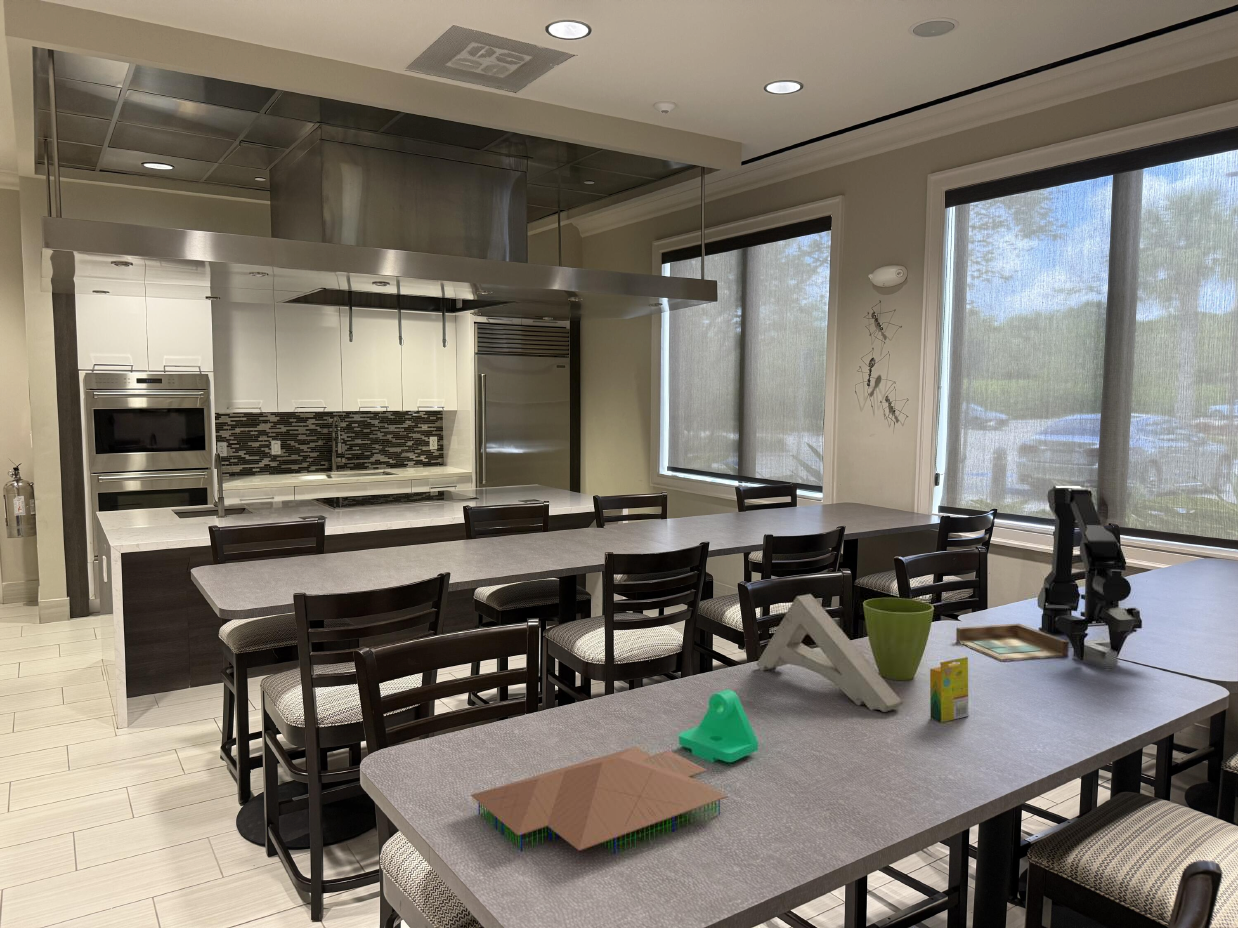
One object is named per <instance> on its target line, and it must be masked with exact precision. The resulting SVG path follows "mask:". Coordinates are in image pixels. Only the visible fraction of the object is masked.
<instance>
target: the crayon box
mask: <svg viewBox="0 0 1238 928" xmlns="http://www.w3.org/2000/svg"><path fill="white" fill-rule="evenodd" d="M968 658H969V657H967V656H965V657H961V658H955V659H951V660H945V661H941V662H939V663H940V664H939V665H940V666H939V667H934V668H933V667H932V668H930V669H929V670H930V671H929V672H930V673H929V675H930V676H929V677H930V678H929V680H930V681H929V682H930V683H929V685H930V686H929V687H930V689H929V691H930V692H929V693H930V697H929V698H930V701H929V703H930V706H929V708H930V709H929V710H930V711H929V713H930V715H929V716H930V717H929V718H930V719H931V720H933V721H937V722H939V723H943V724H944V722H949V721H953V720H956V719H960V718H966V717H967V718H968V717H969V662H968V661H969V659H968Z"/></svg>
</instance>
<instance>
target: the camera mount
mask: <svg viewBox="0 0 1238 928" xmlns="http://www.w3.org/2000/svg"><path fill="white" fill-rule="evenodd" d="M678 744H679V746H682V747H684V748H687V749H690V750H691V755H692V756H696V757H698V758H701V759H703V760H706V761H708V762H712V763H715V762H717V761H718V760H720V761H724V762H726V763H733V762H736V761H737V760H740V759H742V758H745V757H746V756H748V755H751V754H753V753H755V752H756V751H757V752H758V750H759V741H758V738H757V737H756V734H755V732H754V730H753V727H752V725H751V723H750V720H749V718H748V716H747V714H746V712H745V710H744V707H743V705H742V702H741V700H740V698H739V695H738V694H737V693H736V692H735V691H733V690H732V689H725V690H722V691H718V692H715V693H713V694H712V695H711V696H710V697H709V699H708V709H707V711H706V713H705V714H704V716H703V718H702V719H701V722H700V723H699V725H698V726H696V727H693V728H690V729H688V730H685V731H683V732H681V733H679V734H678Z"/></svg>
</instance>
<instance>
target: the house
mask: <svg viewBox="0 0 1238 928" xmlns="http://www.w3.org/2000/svg"><path fill="white" fill-rule="evenodd" d="M705 772H708V769H706V768H705V767H702V766H700V765H699V764H697V763H695V762H693V761H690V760H689V759H687V758H685V757H683V756H681V755H680V754H676V753H675V752H673V751H671V750H667V751H666V750H665V751H663V752H659V753H655V754H649V753H648V752H646V751H644V750H643V749H640V748H639V747H637V746H634V747H629V748H627V749H623V750H620V751H617V752H613V753H610V754H605V755H602V756H599V757H596V758H592V759H590V760H585V761H582V762H579V763H575V764H571V765H569V766H568V765H567V766H566V767H562V768H557V769H555V770H552V771H551V770H550V771H548V772H544V773H541V774H538V775H537V774H536V775H535V776H534V775H533V776H531V777H528V778H524V779H521V780H518V781H513V782H510V783H507V784H503V785H499V786H496V787H492V788H489V789H486V790H483V791H479V792H475V793H472V794H470V797H472V798H473V799H474V800H475V801H476V802H477V805H478V806H477V807H478V815H481V818H482V817H483V820H485V821H486V822H487V821H488V824H490V826H493V828H495V830H498V833H499V834H501V835H502V836H503V835H504V838H506V837H507V840H509V842H510V843H511V842H512V844H513V845H514V844H515V848H517V847H518V848H520V852H523V842H524V841H528V840H531V847H532V848H533V847H534V845H533V842H534V841H533V840H534V838H536V846H538V845H539V840H538V839H539V838H538V837H540V836H541V841H542V842H541V843H542V845H543V844H544V835H547V834H548V842H552V840H553V841H554V840H558V839H559V838H558V837H559V836H560V837H561V838H562V839H563V840H565V841H566V842H567V843H569V844H570V845H571V846H572V847H574V848H575V849H576V850H578V852H579V851H582V850H586V849H588V848H591V847H594V846H597V845H599V844H601V845H603V844H604V847H607V846H608V847H607V849H608V850H610V842H611V852H614V853H613V854H615V855H616V854H617V844H618V845H619V844H620V845H619V846H620V850H619V851H620V852H622V843H623V842H624V847H625V849H624V850H625V851H626V850H627V841H629V848H630V849H632V839H634V847H637V844H636V842H637V839H636V838H637V837H640V836H643V837H644V841H643V842H644V844H646V834H648V841H649V842H650V841H651V832H655V831H656V830H658V831H657V834H658V835H657V836H658V838H660V829H662V837H663V836H665V831H664V830H665V827H666V828H667V835H669V833H670V834H671V833H674V832H675V824H676V823H677V827H678V828H677V830H678V831H679V830H680V821H682V823H684V820H686V827H687V828H688V827H689V823H688V822H689V821H688V819H689V818H690V821H691V823H690V825H691V826H693V817H694V816H695V817H696V816H698V815H699V823H701V820H702V817H701V814H703V821H705V820H706V812H707V815H708V818H707V819H708V820H709V819H710V811H711V813H717V808H718V816H720V815H721V801H722V800H724V799H726V798H728V797H729V796H728V795H726V794H724V793H723V792H721V791H719V790H717V789H715V788H713V787H712V786H710V785H708V784H706V783H704V782H702V781H701V780H699V779H697V778H695V776H698V775H700V774H702V773H705ZM717 802H718V803H717ZM710 805H711V806H710ZM706 806H707V809H706ZM702 807H703V811H701V808H702ZM710 807H711V808H710ZM698 808H699V812H696V813H695V814H693V810H695V811H697V809H698ZM688 812H690V816H688V814H689V813H688ZM685 813H686V817H685V818H684V814H685ZM680 815H682V816H681V817H682V818H679V817H680ZM676 816H677V821H675V817H676ZM671 819H672V820H671ZM665 821H666V824H665ZM661 822H662V826H661V827H660V823H661ZM655 824H657V828H653V830H651V827H650V826H651V825H655ZM664 824H665V825H664ZM646 827H648V831H646ZM543 828H544V829H543ZM540 829H541V834H540V835H539V834H538V833H539V832H538V830H540ZM641 829H643V830H644V831H643V832H644V833H640V834H638V835H637V834H636V831H638V830H641ZM534 831H536V835H535V836H534V835H533V833H532V832H534ZM544 831H546V832H544ZM633 832H634V836H633V837H632V833H633ZM528 833H531V837H530V838H526V839H523V835H525V834H528ZM627 834H629V838H627ZM655 835H656V834H655V833H653V840H655V839H656V837H655ZM551 836H552V840H551ZM622 836H624V840H622ZM514 837H515V838H514ZM618 837H620V839H619V841H618V842H617V838H618ZM514 839H515V840H514ZM517 841H518V844H517ZM613 841H614V842H613ZM517 845H518V846H517ZM639 845H641V843H639ZM613 847H614V849H613ZM526 850H528V847H526Z"/></svg>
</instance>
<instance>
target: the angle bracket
mask: <svg viewBox="0 0 1238 928" xmlns="http://www.w3.org/2000/svg"><path fill="white" fill-rule="evenodd" d="M1072 649H1073V648H1072ZM1072 653H1073V655H1072V656H1073V657H1075V658H1074V659H1076V658H1077V656H1076V654H1075V652H1074V649H1073V651H1072ZM1073 657H1072V658H1073ZM1077 660H1079V659H1078V658H1077ZM1082 662H1084V663H1086V662H1087V663H1086V664H1089V663H1090V665H1092V664H1093V665H1092V666H1094V665H1095V666H1094V667H1097V666H1098V667H1097V668H1100V667H1101V668H1100V669H1102V668H1103V670H1105V669H1108V670H1115V669H1114V668H1117V669H1118V657H1117V651H1114V650H1111V646H1110V638H1097V639H1084V657H1083V660H1082Z"/></svg>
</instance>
